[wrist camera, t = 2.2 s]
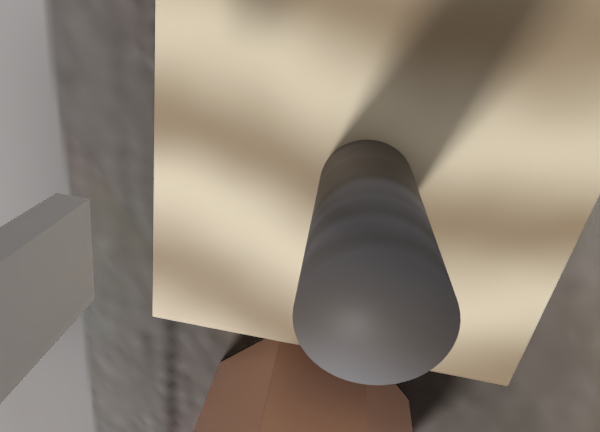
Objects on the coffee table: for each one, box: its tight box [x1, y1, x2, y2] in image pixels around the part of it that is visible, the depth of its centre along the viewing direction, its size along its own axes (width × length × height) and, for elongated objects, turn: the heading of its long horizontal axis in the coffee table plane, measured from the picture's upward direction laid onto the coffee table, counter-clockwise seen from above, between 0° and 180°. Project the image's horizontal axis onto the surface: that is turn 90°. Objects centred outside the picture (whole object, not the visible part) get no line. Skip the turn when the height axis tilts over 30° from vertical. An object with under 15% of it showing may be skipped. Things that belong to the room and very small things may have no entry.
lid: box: [153, 0, 600, 386], centre depth 14 cm, size 16×16×11 cm
